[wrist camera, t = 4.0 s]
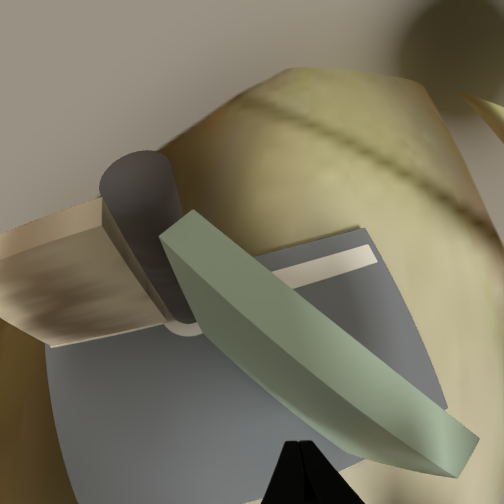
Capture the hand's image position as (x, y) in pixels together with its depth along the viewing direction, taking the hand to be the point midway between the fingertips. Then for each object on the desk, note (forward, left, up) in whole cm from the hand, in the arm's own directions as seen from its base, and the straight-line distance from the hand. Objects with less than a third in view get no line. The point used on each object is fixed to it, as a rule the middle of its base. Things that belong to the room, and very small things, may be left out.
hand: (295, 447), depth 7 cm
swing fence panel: (+1, -2, -6) cm, 6 cm away
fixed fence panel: (+10, -2, -6) cm, 12 cm away
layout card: (+3, -2, -7) cm, 8 cm away
